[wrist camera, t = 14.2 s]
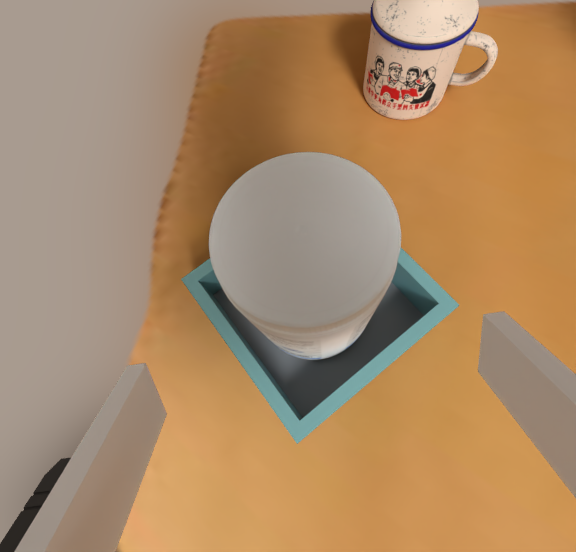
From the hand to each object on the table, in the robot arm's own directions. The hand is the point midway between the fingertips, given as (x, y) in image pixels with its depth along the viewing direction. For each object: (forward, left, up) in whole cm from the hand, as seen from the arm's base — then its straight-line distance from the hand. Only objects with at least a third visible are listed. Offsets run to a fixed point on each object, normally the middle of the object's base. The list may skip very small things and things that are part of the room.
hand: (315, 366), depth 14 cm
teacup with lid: (+17, -28, -16) cm, 36 cm away
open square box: (+5, -4, -16) cm, 18 cm away
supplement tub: (+5, -4, -15) cm, 17 cm away
